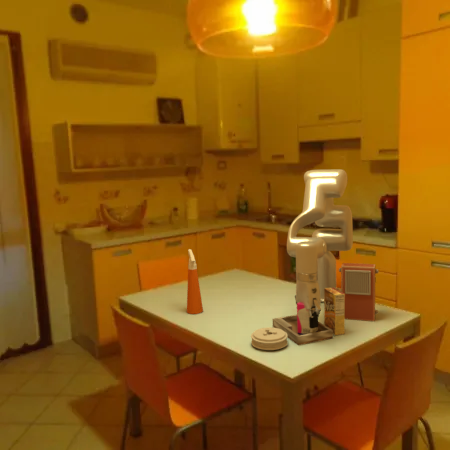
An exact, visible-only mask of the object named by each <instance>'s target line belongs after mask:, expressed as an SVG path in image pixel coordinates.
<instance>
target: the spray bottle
mask: <svg viewBox="0 0 450 450" xmlns="http://www.w3.org/2000/svg"><path fill="white" fill-rule="evenodd" d="M187 251H188V252H187V254H188V258H189V259H188V264H187V268H188V270H187V295H186V296H187V297H186V313H187V314H189V315H198V314H202V313H203V312H204V308H203V301H202V295H201V287H200V282H199V281H200V280H199V275H198V268H197V263H196V259H195V255H194V253H193V250H192V249H190V248H189V249H188V250H187Z"/></svg>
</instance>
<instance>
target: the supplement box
mask: <svg viewBox="0 0 450 450" xmlns="http://www.w3.org/2000/svg"><path fill="white" fill-rule="evenodd" d="M311 308H314V307H313V305H312V307H311ZM314 312H315V311H314V310H312V313H314ZM296 313H297V314H296V315H297V328H298V334H300V335H305V334H310V333H315V332H318V327H317V328H310V324H309V317H310V313H309V310H307V309H305V306H304V304H302V303H300V302H299V303H297V304H296Z"/></svg>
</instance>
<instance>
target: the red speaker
mask: <svg viewBox="0 0 450 450" xmlns="http://www.w3.org/2000/svg"><path fill="white" fill-rule="evenodd" d="M338 272H340V274H341V277H340V278H341V280H340V283H341V286H340V287H341V288H340V289H341V292H342V293H344V294H345V320H353V321H366V322H367V321H368V322H375V319H376V315H378V314H379V310H378V309H376V274H379V272H380V271H379V269H377V268H376V263H375V264H374V263H351V262H350V263H348V262H346V263H345V262H343V263H341V266H340V267H339V268H338Z"/></svg>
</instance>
